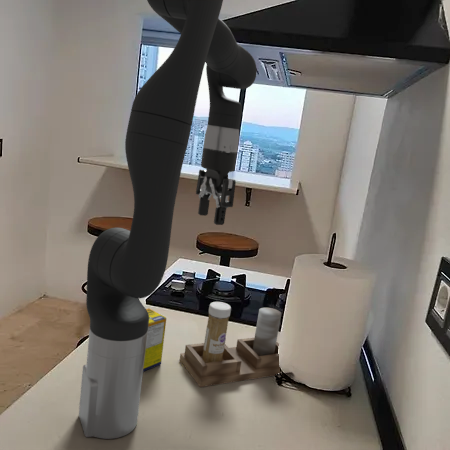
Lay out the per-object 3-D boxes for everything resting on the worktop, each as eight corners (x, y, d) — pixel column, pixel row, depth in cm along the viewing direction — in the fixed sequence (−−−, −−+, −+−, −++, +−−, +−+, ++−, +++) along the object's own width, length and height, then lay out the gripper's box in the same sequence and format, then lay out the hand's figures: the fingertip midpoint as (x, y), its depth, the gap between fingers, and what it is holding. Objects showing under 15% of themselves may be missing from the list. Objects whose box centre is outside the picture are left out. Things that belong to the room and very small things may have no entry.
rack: (200, 387, 92) (208, 329, 90) (179, 359, 102) (186, 306, 99) (292, 372, 103) (302, 321, 101) (266, 348, 113) (275, 301, 110)
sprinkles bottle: (215, 371, 96) (224, 311, 93) (196, 363, 98) (205, 304, 95) (225, 363, 100) (235, 305, 97) (208, 355, 102) (216, 299, 99)
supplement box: (143, 353, 102) (148, 307, 100) (161, 364, 98) (167, 317, 96) (121, 361, 98) (126, 313, 95) (140, 373, 94) (145, 324, 92)
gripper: (192, 143, 106) (183, 211, 109) (219, 150, 93) (208, 227, 97) (221, 146, 109) (211, 213, 113) (251, 153, 97) (239, 228, 100)
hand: (210, 219), depth 105 cm, fingers open, 8 cm apart
